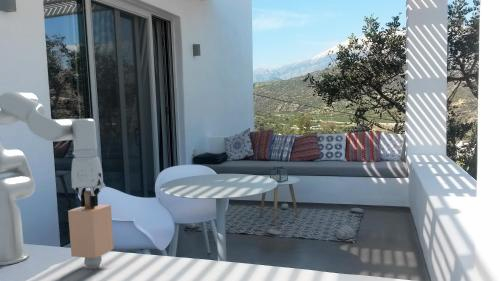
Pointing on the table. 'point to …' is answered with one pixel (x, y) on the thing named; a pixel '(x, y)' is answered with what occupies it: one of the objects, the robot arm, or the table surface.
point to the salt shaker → (92, 262)
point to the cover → (90, 229)
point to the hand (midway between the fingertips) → (89, 205)
